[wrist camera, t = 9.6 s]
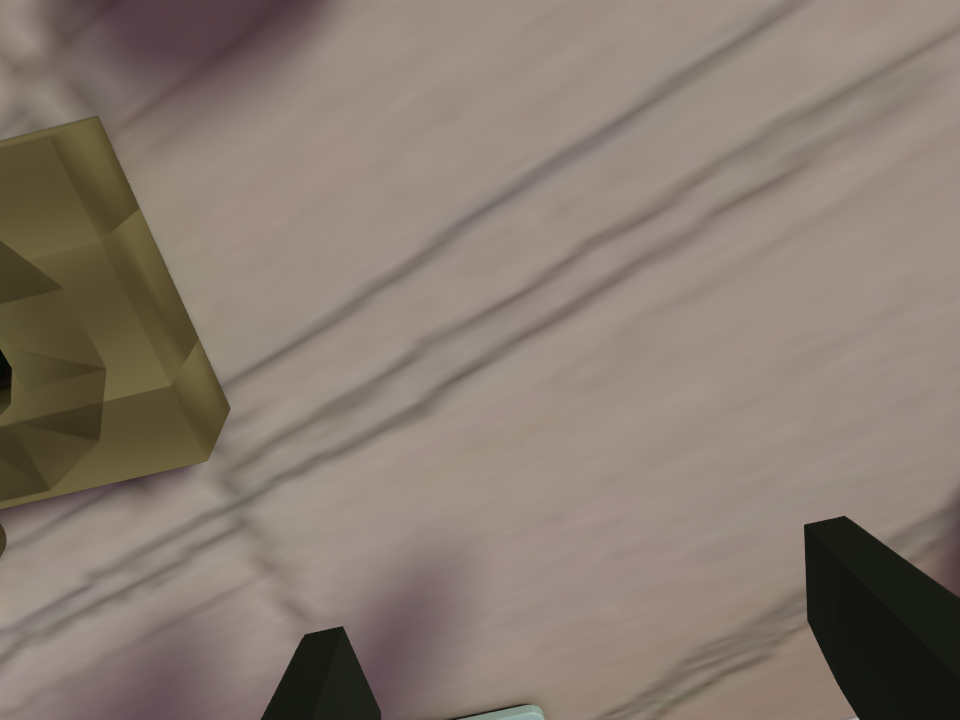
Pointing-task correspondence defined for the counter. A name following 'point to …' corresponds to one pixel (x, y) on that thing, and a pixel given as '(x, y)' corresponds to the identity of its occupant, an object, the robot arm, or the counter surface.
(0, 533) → the short dowel
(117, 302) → the board
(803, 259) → the counter surface
